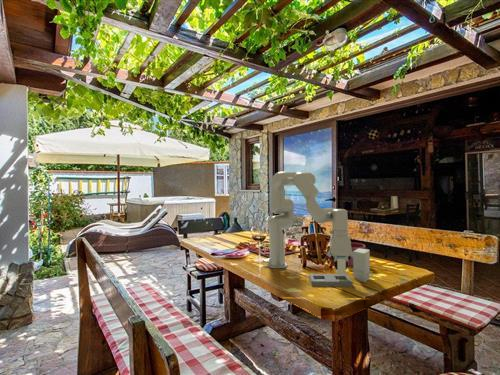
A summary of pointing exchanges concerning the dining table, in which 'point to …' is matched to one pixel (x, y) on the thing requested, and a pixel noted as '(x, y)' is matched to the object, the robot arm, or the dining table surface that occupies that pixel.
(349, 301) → the dining table surface
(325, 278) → the socket panel
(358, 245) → the plant pot
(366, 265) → the skincare box
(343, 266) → the plug
